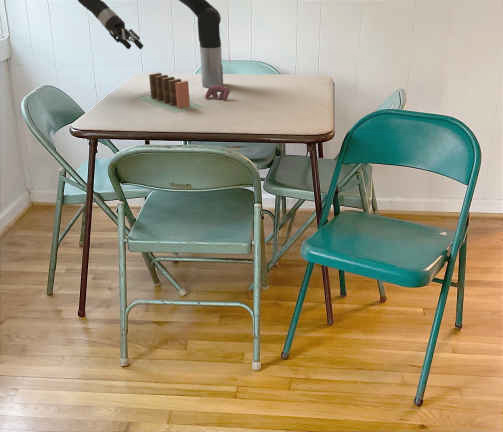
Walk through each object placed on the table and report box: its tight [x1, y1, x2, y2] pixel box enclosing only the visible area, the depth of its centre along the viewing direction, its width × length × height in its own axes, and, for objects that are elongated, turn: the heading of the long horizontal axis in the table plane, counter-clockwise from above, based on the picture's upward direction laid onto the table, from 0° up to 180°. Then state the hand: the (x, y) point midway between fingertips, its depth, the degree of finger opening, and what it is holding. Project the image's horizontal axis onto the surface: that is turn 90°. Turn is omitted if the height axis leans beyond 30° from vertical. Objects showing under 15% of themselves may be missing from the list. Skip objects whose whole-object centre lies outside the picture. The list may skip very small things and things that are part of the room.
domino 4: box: [168, 78, 182, 106], centre depth 254 cm, size 2×5×10 cm, turn 129°
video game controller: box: [204, 84, 231, 102], centre depth 262 cm, size 10×5×7 cm, turn 65°
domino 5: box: [175, 80, 190, 108], centre depth 250 cm, size 2×5×10 cm, turn 129°
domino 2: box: [155, 74, 169, 101], centre depth 261 cm, size 2×5×10 cm, turn 129°
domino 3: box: [162, 76, 176, 104], centre depth 257 cm, size 2×5×10 cm, turn 129°
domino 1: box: [148, 72, 163, 99], centre depth 264 cm, size 2×5×10 cm, turn 129°
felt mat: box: [137, 95, 205, 114], centre depth 259 cm, size 30×14×1 cm, turn 39°
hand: (136, 47), depth 267 cm, fingers open, 8 cm apart
